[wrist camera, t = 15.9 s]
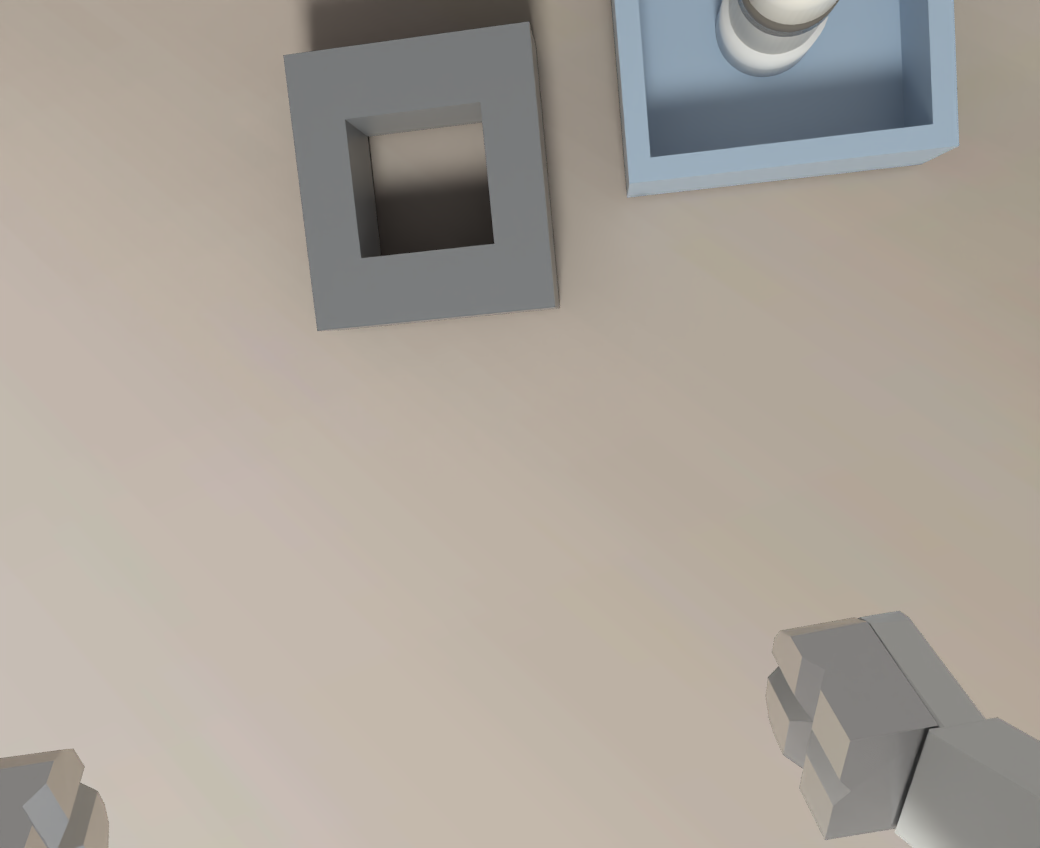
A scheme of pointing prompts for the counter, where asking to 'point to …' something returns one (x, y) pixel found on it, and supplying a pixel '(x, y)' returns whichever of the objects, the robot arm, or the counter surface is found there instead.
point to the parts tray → (782, 96)
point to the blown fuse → (769, 32)
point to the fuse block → (409, 107)
